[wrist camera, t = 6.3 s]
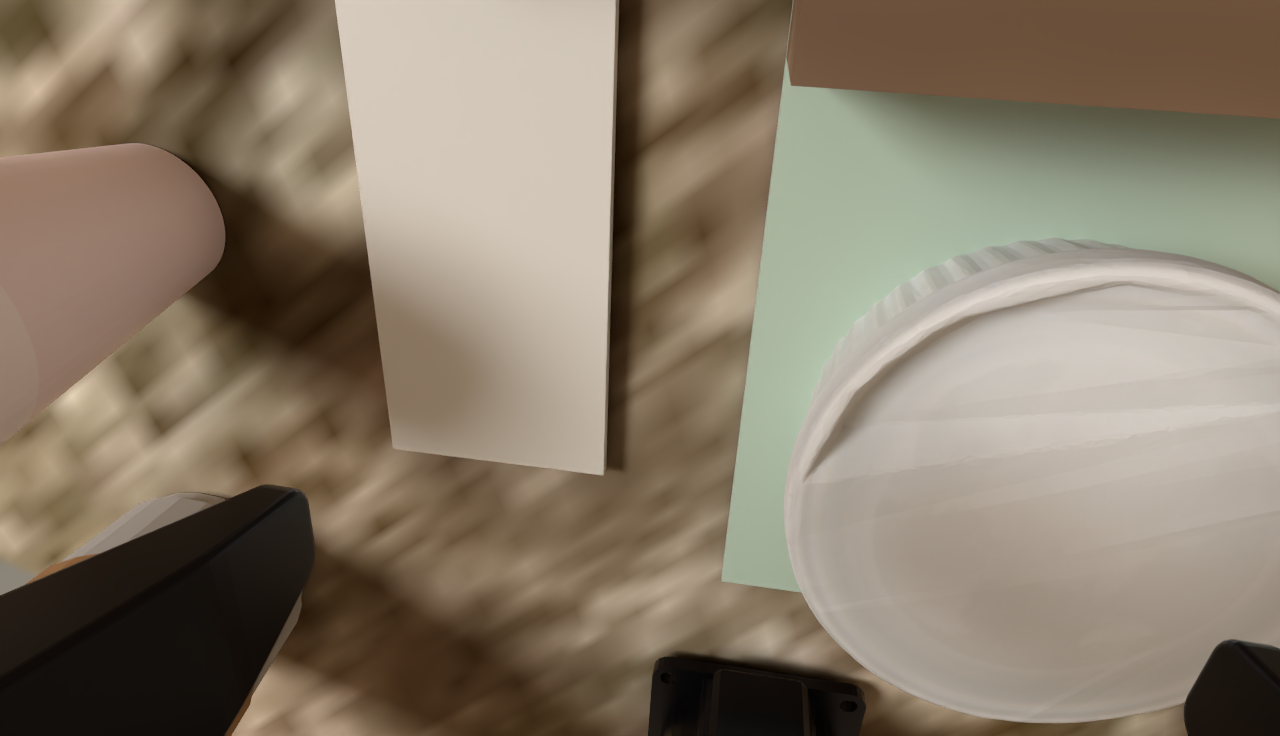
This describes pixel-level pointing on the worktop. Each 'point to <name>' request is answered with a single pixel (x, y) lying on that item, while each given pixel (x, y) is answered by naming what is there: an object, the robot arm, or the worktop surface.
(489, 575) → the worktop surface
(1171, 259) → the ramekin
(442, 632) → the worktop surface
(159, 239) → the smoothie
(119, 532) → the coffee cup
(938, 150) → the wooden handled dough scraper
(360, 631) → the worktop surface
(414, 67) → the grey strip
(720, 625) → the worktop surface
